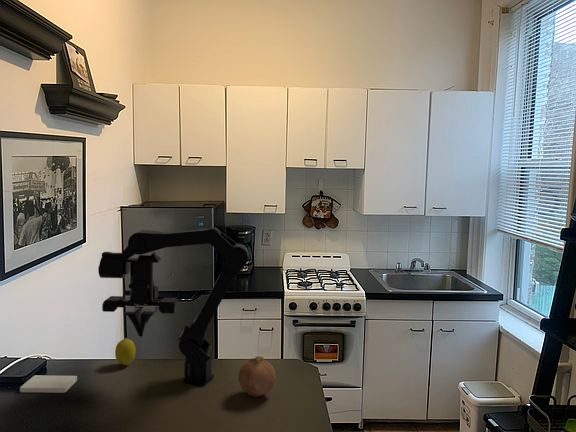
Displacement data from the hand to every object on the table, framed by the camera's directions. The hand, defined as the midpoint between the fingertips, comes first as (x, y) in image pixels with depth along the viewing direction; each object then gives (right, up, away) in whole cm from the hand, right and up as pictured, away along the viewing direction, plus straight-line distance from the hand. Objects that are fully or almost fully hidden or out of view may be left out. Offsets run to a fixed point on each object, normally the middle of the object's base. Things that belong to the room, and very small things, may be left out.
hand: (141, 336), depth 121 cm
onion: (+31, -14, -6) cm, 35 cm away
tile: (-17, -12, -4) cm, 21 cm away
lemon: (-8, -11, +10) cm, 17 cm away
